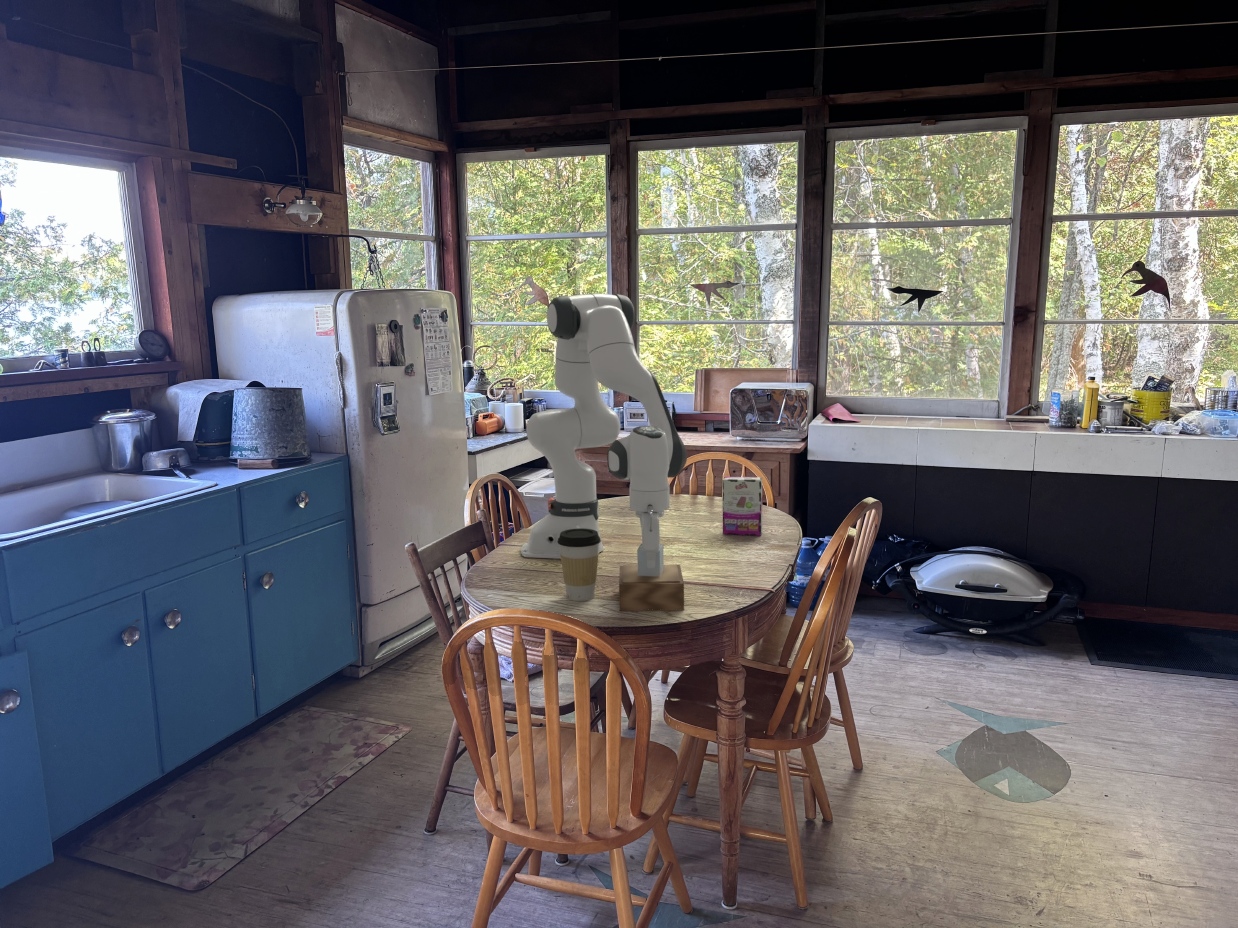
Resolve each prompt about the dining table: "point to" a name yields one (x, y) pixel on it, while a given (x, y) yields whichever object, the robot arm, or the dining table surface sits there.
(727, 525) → the candy bar box
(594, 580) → the coffee cup
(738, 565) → the dining table surface
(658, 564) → the painted block
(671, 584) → the block
